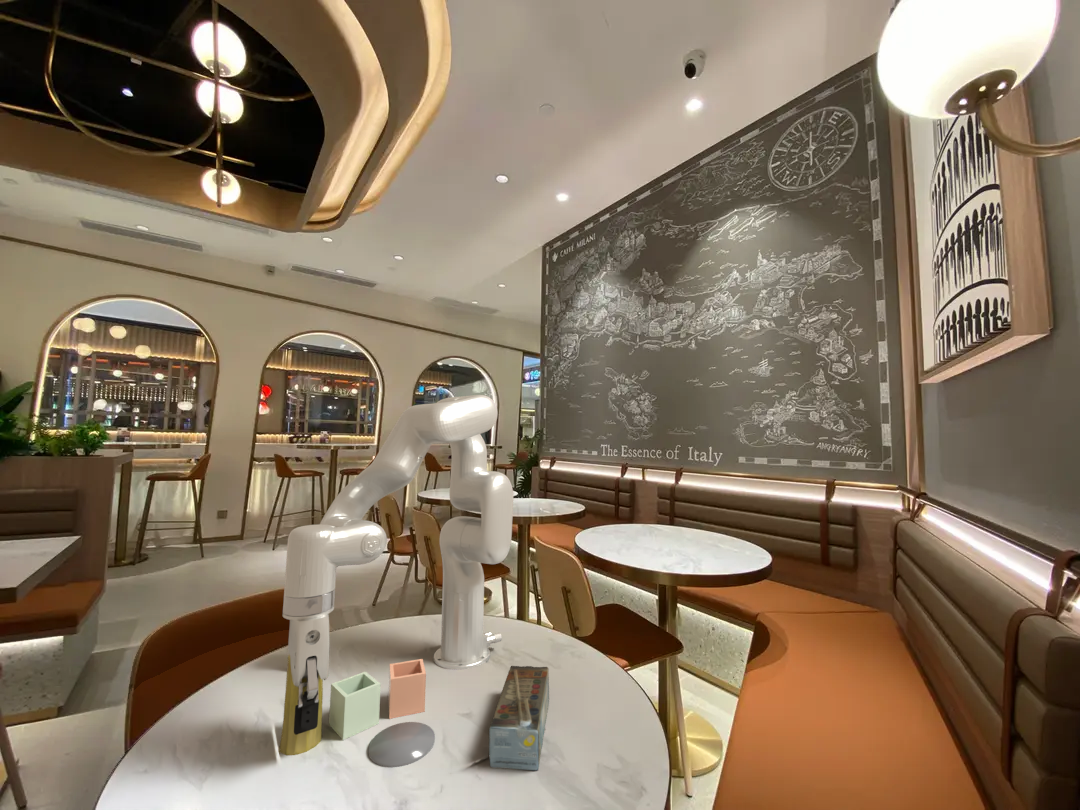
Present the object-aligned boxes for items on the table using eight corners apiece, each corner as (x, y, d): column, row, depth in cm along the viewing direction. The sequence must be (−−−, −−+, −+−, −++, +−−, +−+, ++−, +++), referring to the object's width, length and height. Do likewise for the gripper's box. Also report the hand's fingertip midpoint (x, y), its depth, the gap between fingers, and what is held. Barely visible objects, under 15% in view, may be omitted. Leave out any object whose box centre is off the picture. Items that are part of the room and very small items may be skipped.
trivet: (421, 721, 75) (421, 714, 75) (444, 753, 67) (444, 746, 67) (361, 743, 69) (361, 736, 69) (379, 781, 61) (379, 773, 61)
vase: (303, 762, 65) (309, 662, 67) (268, 756, 66) (275, 658, 68) (330, 736, 71) (335, 645, 73) (298, 731, 72) (303, 642, 74)
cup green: (363, 712, 78) (365, 671, 78) (378, 727, 73) (380, 683, 74) (328, 727, 73) (331, 683, 74) (342, 744, 69) (345, 697, 70)
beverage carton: (486, 769, 64) (486, 721, 65) (509, 697, 83) (509, 661, 84) (539, 774, 63) (539, 725, 64) (550, 700, 82) (550, 663, 83)
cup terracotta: (421, 697, 82) (422, 658, 83) (424, 715, 77) (425, 673, 78) (388, 703, 80) (389, 664, 81) (389, 722, 75) (390, 679, 76)
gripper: (345, 613, 66) (338, 738, 64) (324, 585, 80) (318, 688, 78) (289, 624, 62) (280, 759, 60) (277, 593, 76) (270, 701, 74)
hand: (302, 718), depth 69 cm, fingers open, 6 cm apart
